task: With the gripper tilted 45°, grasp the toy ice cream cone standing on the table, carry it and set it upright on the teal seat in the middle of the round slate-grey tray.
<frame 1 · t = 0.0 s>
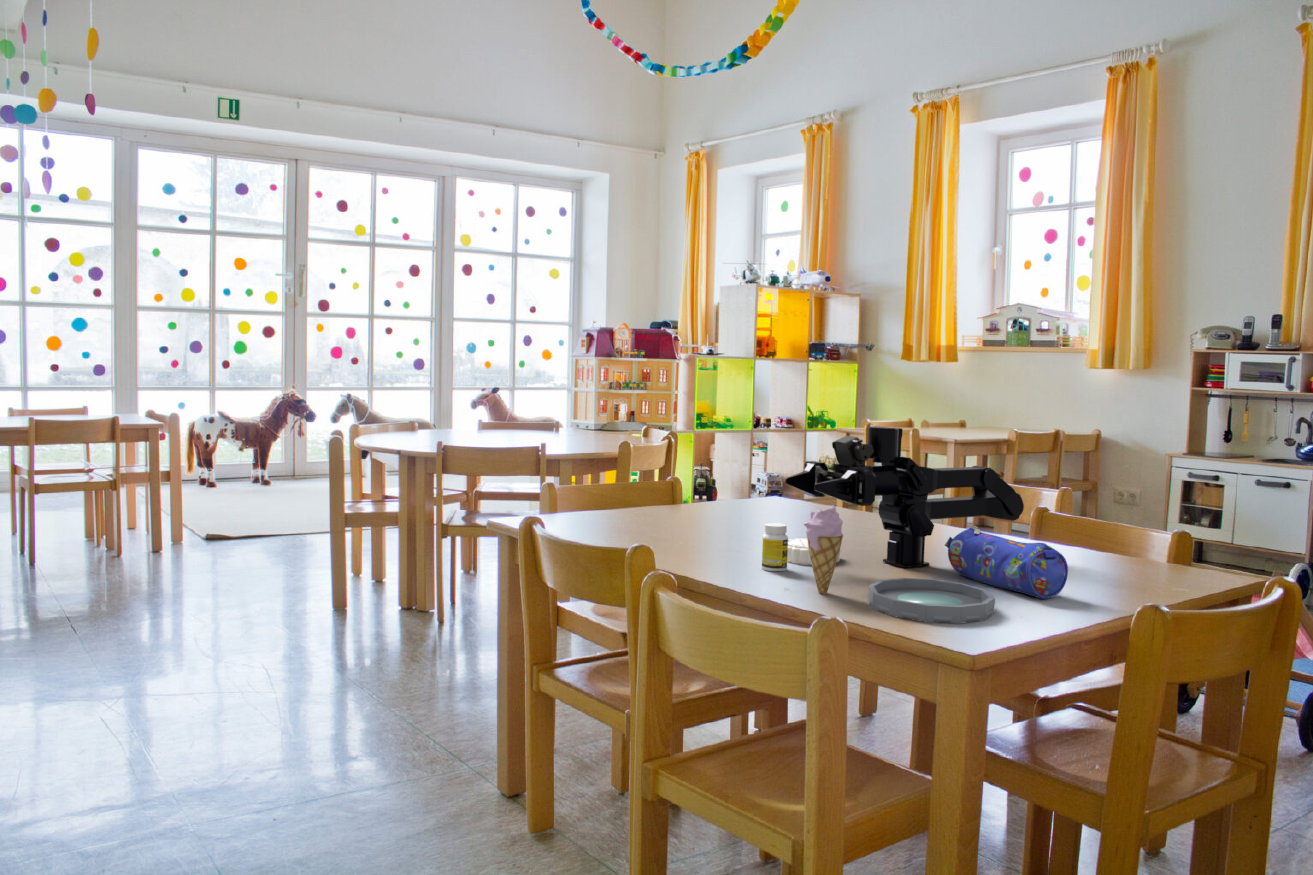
hand: (799, 484, 175), 17 cm above the table, tool horizontal, fingers open, 9 cm apart
pencil case: (1003, 588, 170), on the table
supplement bottle: (774, 570, 180), on the table
mooncake: (808, 561, 191), on the table
round tray: (929, 606, 154), on the table
ice cream cone: (821, 594, 162), on the table
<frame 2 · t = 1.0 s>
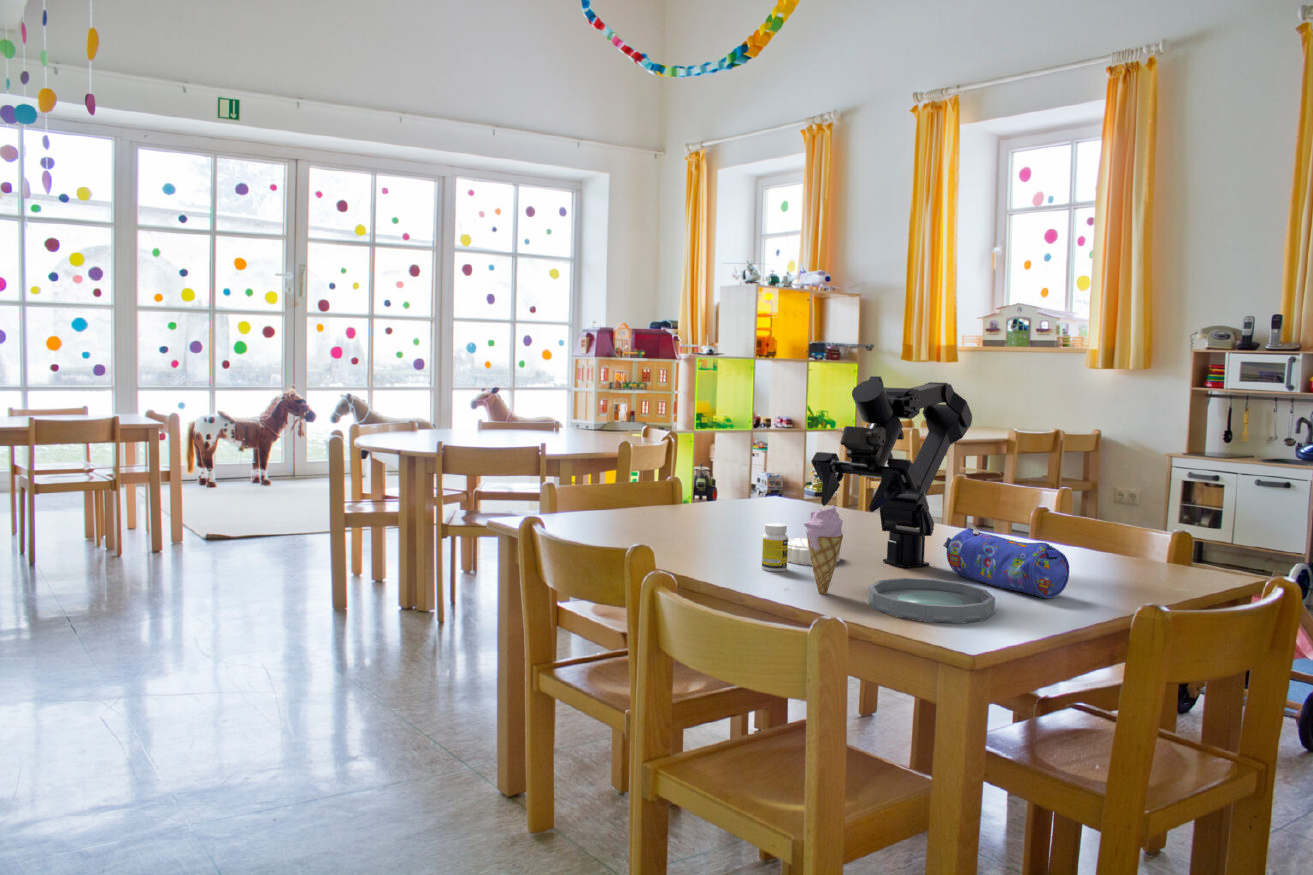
hand: (846, 507, 167), 14 cm above the table, tool tilted 45°, fingers open, 9 cm apart
nothing on the table moved.
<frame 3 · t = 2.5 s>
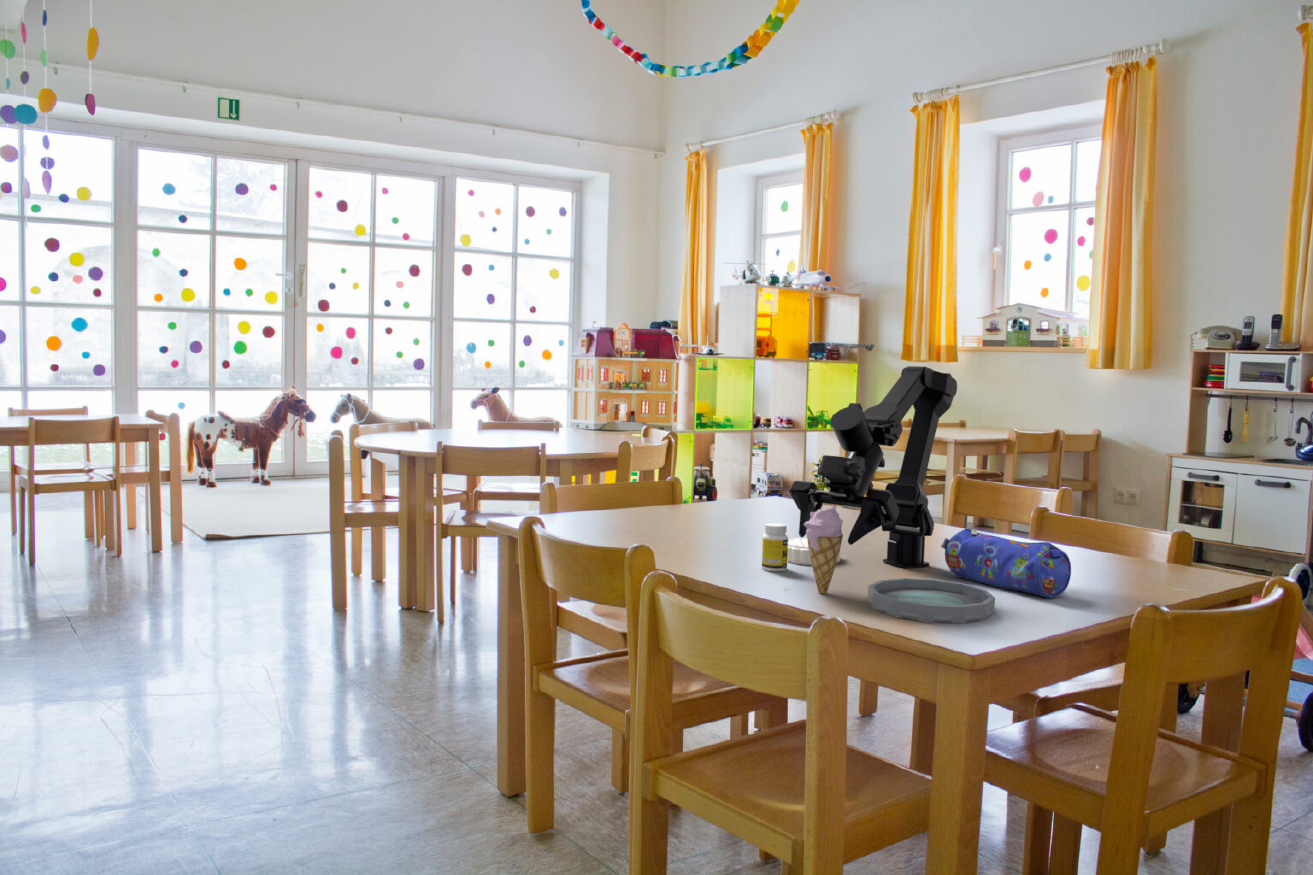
hand: (824, 539, 161), 9 cm above the table, tool tilted 45°, fingers open, 9 cm apart
nothing on the table moved.
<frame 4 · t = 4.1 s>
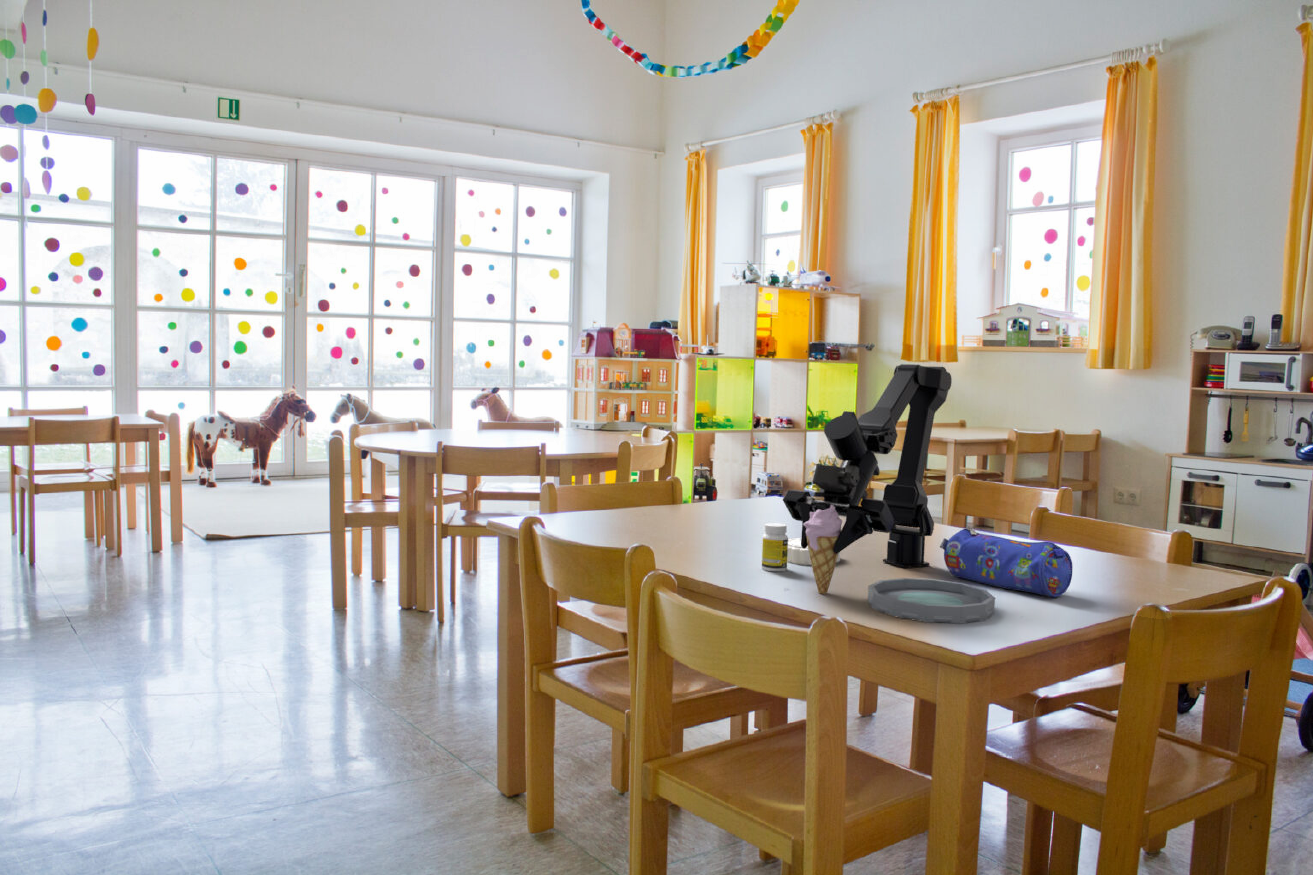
hand: (818, 549, 160), 8 cm above the table, tool tilted 45°, fingers closed on ice cream cone, 6 cm apart
ice cream cone: (821, 594, 162), on the table, touching gripper
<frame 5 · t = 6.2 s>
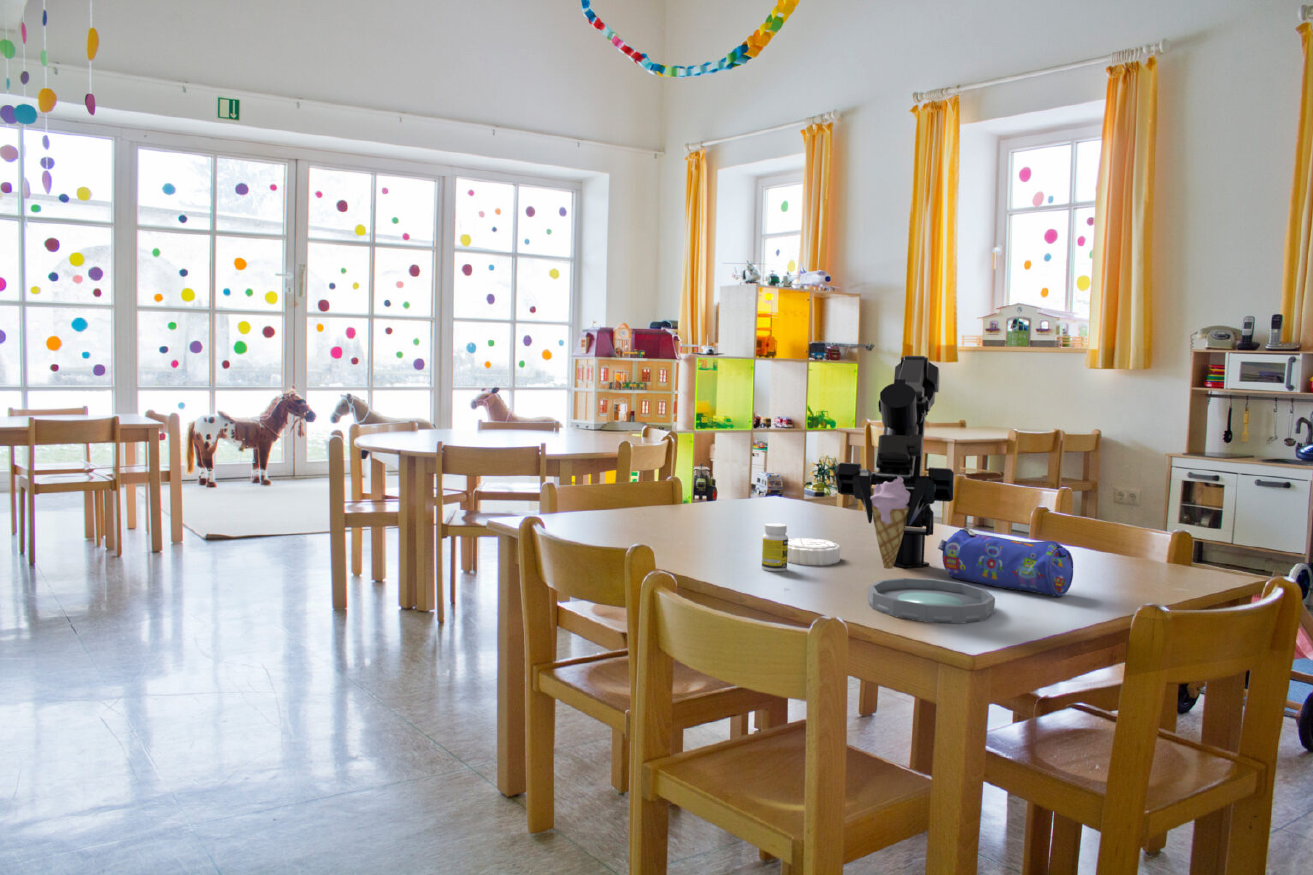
hand: (888, 523, 154), 13 cm above the table, tool tilted 45°, fingers closed on ice cream cone, 6 cm apart
ice cream cone: (887, 569, 156), point 5 cm above the table, touching gripper
when the fingers open (9 cm above the table, at t = 8.5 s): ice cream cone stays where it is, resting on round tray.
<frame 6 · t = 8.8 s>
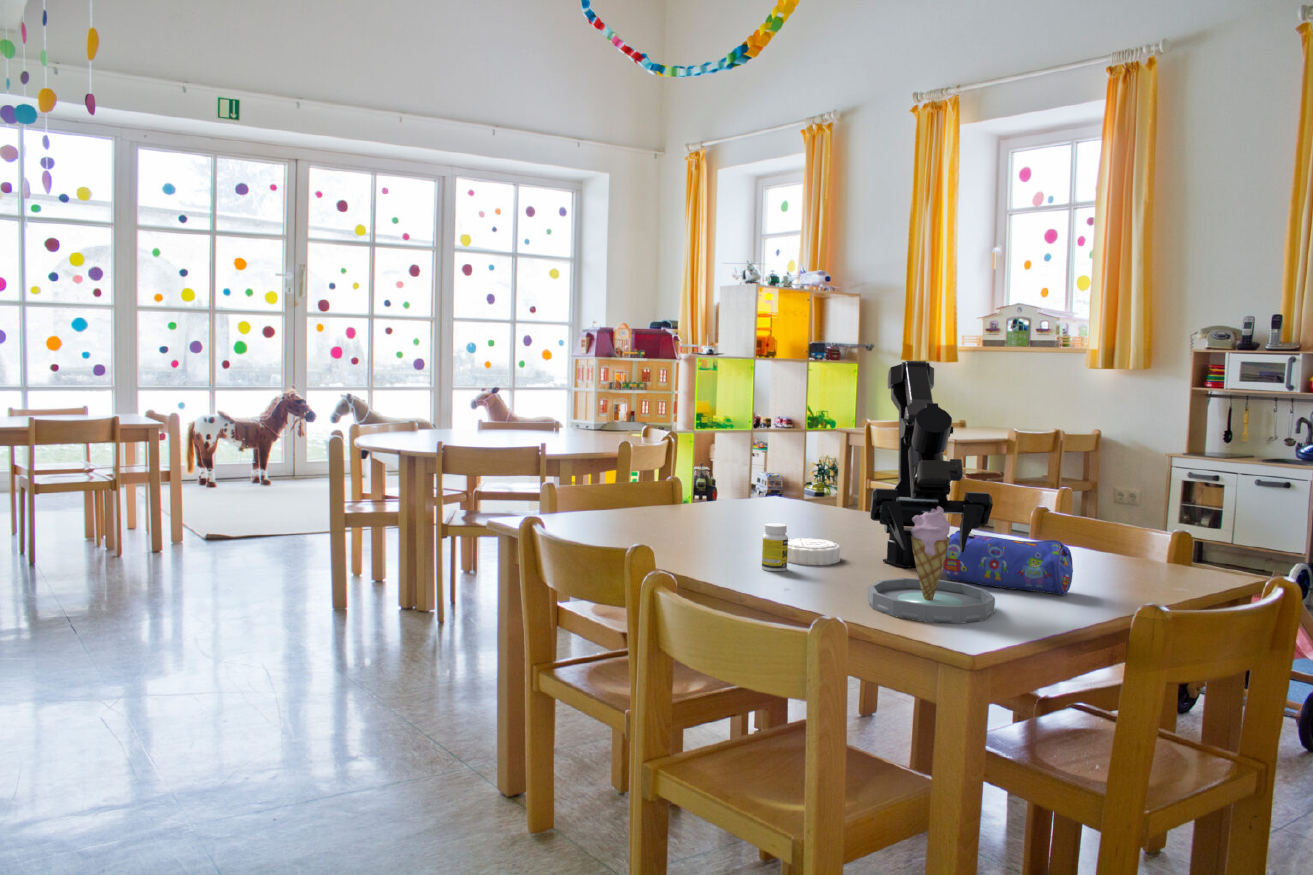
hand: (933, 549, 152), 10 cm above the table, tool tilted 45°, fingers open, 9 cm apart
ice cream cone: (928, 600, 154), point 1 cm above the table, touching round tray
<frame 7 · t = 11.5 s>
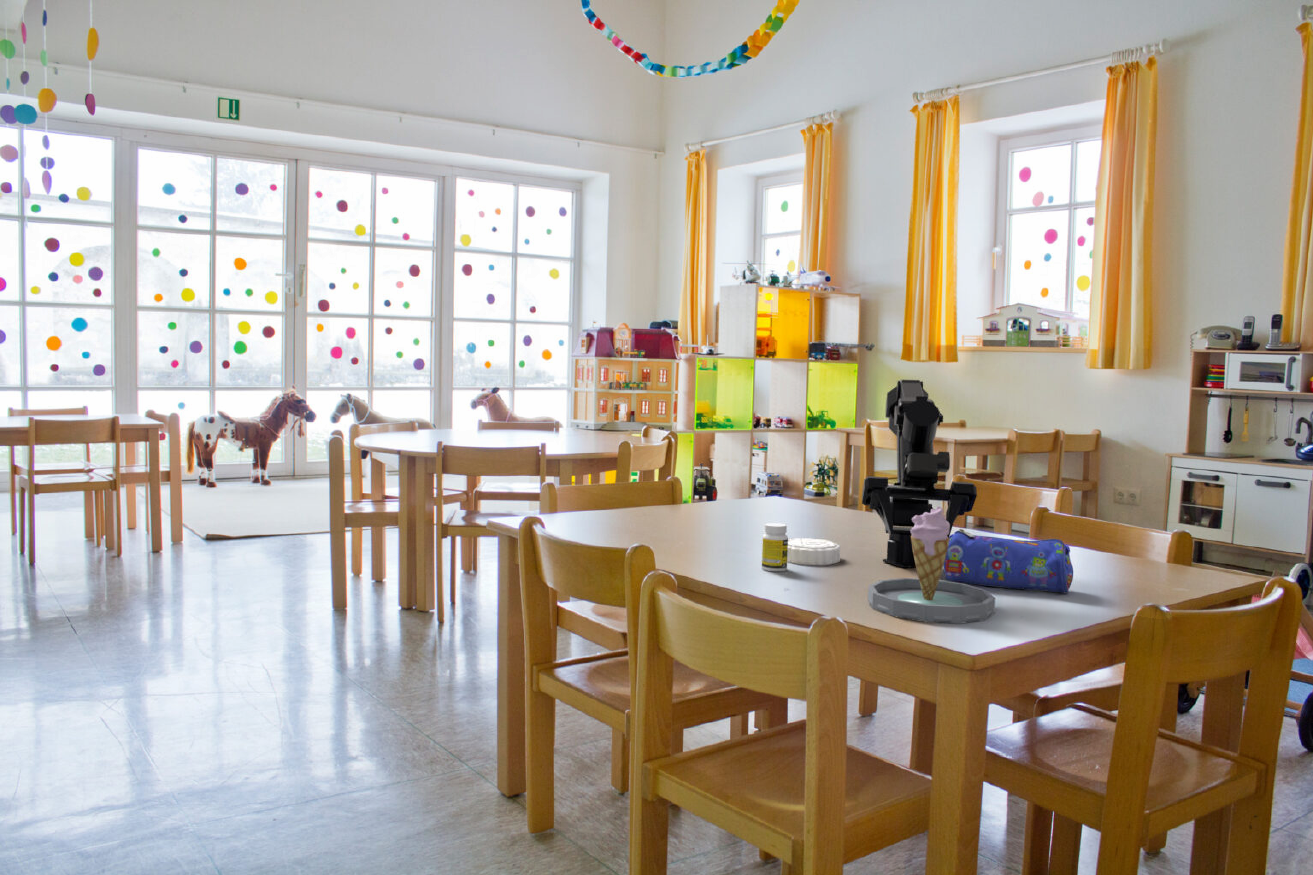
hand: (919, 536, 162), 10 cm above the table, tool tilted 40°, fingers open, 9 cm apart
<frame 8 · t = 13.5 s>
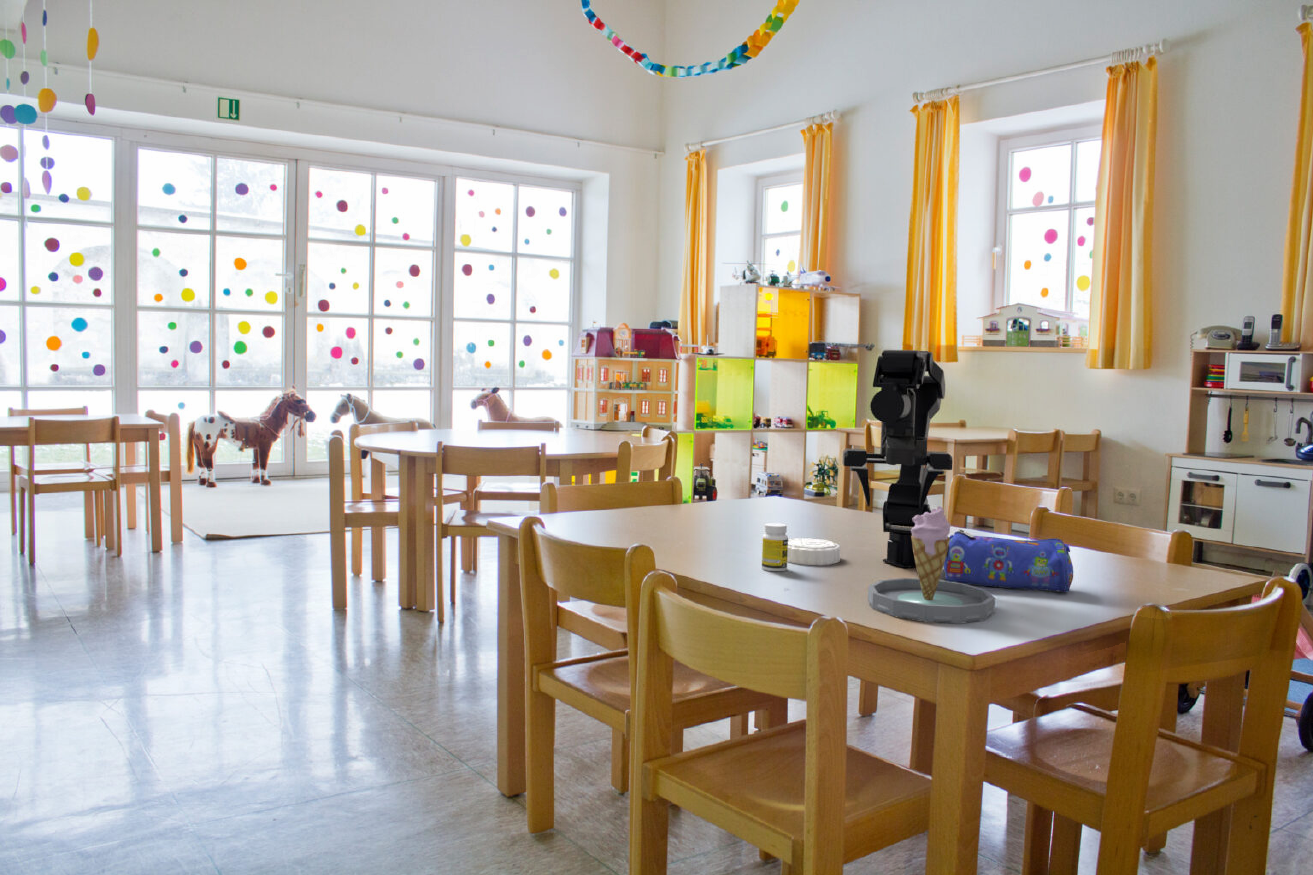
hand: (894, 507, 173), 13 cm above the table, tool pointing down, fingers open, 9 cm apart
at the end: ice cream cone inside the target area on the round tray (0.3 cm from its centre), point 1.0 cm above the round tray's base; ice cream cone tilted 1°; the gripper is holding nothing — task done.
